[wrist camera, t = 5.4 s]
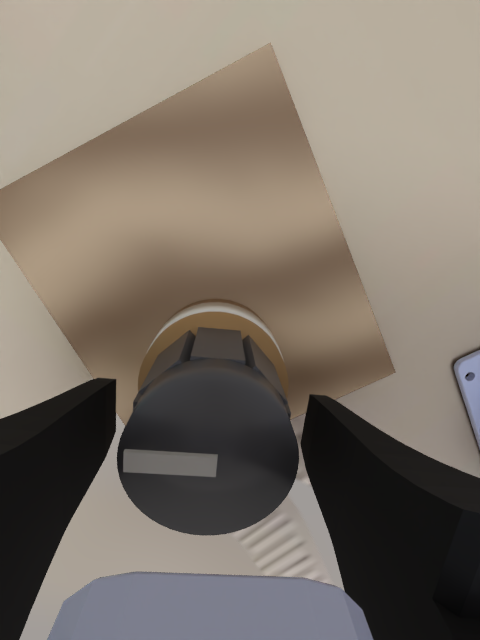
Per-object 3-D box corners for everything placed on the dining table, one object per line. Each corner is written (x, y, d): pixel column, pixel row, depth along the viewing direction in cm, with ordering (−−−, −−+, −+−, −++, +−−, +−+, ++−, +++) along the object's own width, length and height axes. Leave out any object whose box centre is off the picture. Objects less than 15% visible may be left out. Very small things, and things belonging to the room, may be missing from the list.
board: (390, 368, 18) (395, 372, 17) (161, 471, 19) (160, 477, 18) (269, 49, 14) (270, 42, 13) (-17, 203, 15) (-25, 202, 14)
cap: (281, 334, 13) (313, 390, 8) (266, 442, 14) (286, 542, 9) (155, 323, 12) (116, 375, 8) (150, 434, 13) (114, 536, 9)
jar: (294, 381, 17) (321, 437, 12) (190, 428, 17) (178, 500, 13) (244, 275, 15) (253, 294, 11) (131, 331, 16) (93, 372, 11)
